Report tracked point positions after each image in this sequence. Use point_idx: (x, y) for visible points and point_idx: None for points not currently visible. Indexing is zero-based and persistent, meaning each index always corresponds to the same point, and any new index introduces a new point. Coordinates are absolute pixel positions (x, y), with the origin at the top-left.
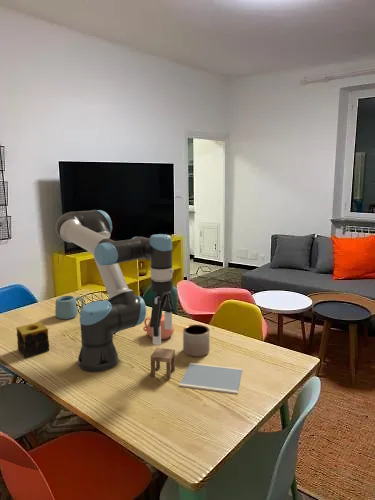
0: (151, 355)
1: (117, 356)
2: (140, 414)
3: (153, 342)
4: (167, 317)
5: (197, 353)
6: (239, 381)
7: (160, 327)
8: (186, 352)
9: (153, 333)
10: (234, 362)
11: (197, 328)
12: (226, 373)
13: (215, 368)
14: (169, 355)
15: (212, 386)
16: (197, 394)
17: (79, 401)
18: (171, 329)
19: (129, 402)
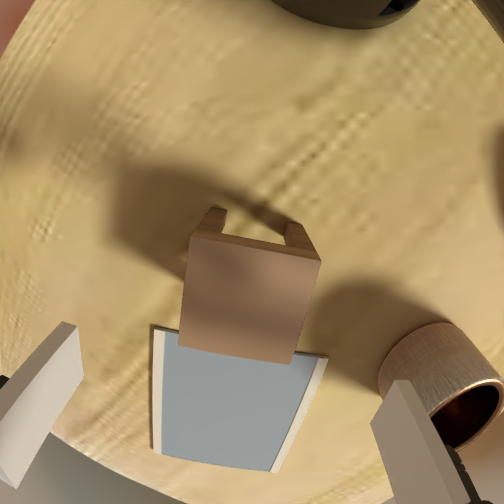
0: (202, 240)
1: (354, 18)
2: (3, 216)
3: (55, 333)
4: (419, 482)
5: (380, 384)
6: (209, 463)
7: (11, 477)
8: (403, 343)
9: (10, 386)
10: (323, 457)
11: (486, 407)
12: (250, 447)
13: (282, 426)
14: (212, 344)
15: (168, 414)
16: (123, 374)
17: (48, 3)
18: (371, 422)
19: (39, 162)
